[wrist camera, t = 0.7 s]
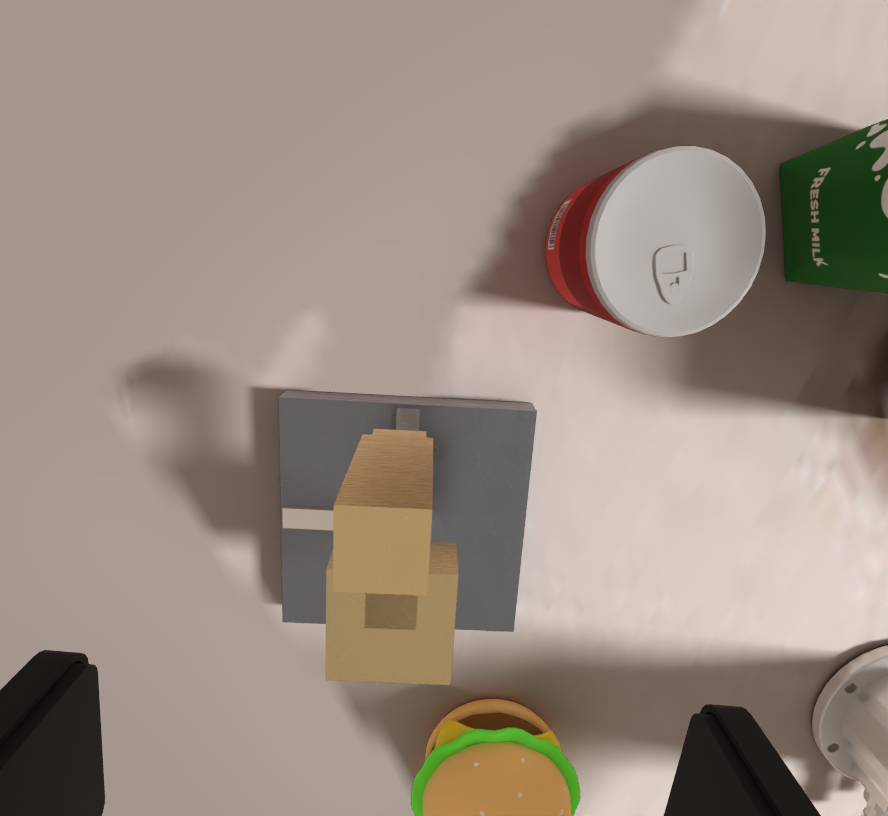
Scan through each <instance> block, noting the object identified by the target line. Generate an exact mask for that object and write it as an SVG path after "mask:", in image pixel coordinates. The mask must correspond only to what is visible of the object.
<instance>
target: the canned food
mask: <svg viewBox="0 0 888 816" xmlns="http://www.w3.org/2000/svg"><path fill="white" fill-rule="evenodd" d="M765 237H766V229H765V215H764V211H763V208H762V204H761V200H760V197H759V195H758V193H757V191H756V189H755V187H754V185H753V183H752V181H751V180H750V179H749V177H748V176H747V175H746V174H745V172H744V171H743V170H742V169H741V168H740V167H739V166H738V165H737V164H735V163H734V162H733V161H732V160H730V159H729V158H728V157H726V156H724V155H722V154H720V153H718V152H715V151H713V150H711V149H706V148H701V147H697V146H676V147H670V148H666V149H662V150H657V151H653V152H651V153H649V154H647V155H644V156H642V157H640V158H637V159H635V160H633V161H631V162H629V163H627V164H625V165H623V166H621V167H619V168H617V169H615V170H613V171H611V172H609V173H607V174H605V175H603V176H601V177H599V178H597V179H595V180H593V181H591V182H589V183H587V184H585V185H583V186H581V187H579V188H578V189H577V190H575V191H574V192H573V193H571V194H570V195H569V196H568V197H567V198H566V199H565V201H564V202H563V203H562V204H561V205H560V207H559V208H558V210H557V212H556V213H555V215H554V216H553V219H552V221H551V224H550V227H549V229H548V234H547V239H546V254H545V257H546V263H547V269H548V272H549V275H550V277H551V280H552V282H553V284H554V286H555V287H556V289H557V290H558V292H559V293H560V294H561V295H562V296H563V298H564V299H565V300H566V301H567V302H569V303H570V304H572V305H573V306H574V307H576V308H577V309H580V310H582V311H585V312H587V313H589V314H592V315H594V316H597V317H599V318H602V319H604V320H607V321H609V322H612V323H615V324H617V325H620V326H622V327H625V328H627V329H630V330H632V331H636V332H639V333H641V334H646V335H652V336H657V337H679V336H684V335H688V334H693V333H696V332H699V331H701V330H703V329H705V328H708V327H710V326H712V325H713V324H715V323H716V322H718V321H719V320H721V319H722V318H724V317H725V316H726V315H727V314H728V313H730V312H731V311H732V310H733V309H734V308H735V307H736V306H737V305H738V304H739V303H740V301H741V300H742V298H743V297H744V296H745V294H746V293H747V292H748V290H749V289H750V287H751V285H752V283H753V281H754V279H755V277H756V275H757V273H758V271H759V267H760V264H761V260H762V257H763V254H764V246H765Z"/></svg>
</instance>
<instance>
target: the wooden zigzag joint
mask: <svg viewBox="0 0 888 816" xmlns="http://www.w3.org/2000/svg"><path fill="white" fill-rule="evenodd" d="M426 433H427V432H426V431H407V430H388V429H374V430H373V433H372V435H367V434H362V437H361V439H360V442H359V444H358V447H357V449H356V452H355V454H354V457H353V459H352V461H351V464H350V466H349V469H348V471H347V474H346V476H345V479H344V481H343V483H342V486H341V488H340V491H339V493H338V496H337V498H336V501H335V503H334V531H333V551H332V554H331V557H330V560H329V563H328V566H327V569H326V680H334V681H359V682H385V683H411V684H436V685H450V683H451V669H452V656H453V642H454V629H455V615H456V602H457V588H458V561H457V547H456V543H452V542H431V525H432V501H433V438H426Z"/></svg>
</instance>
